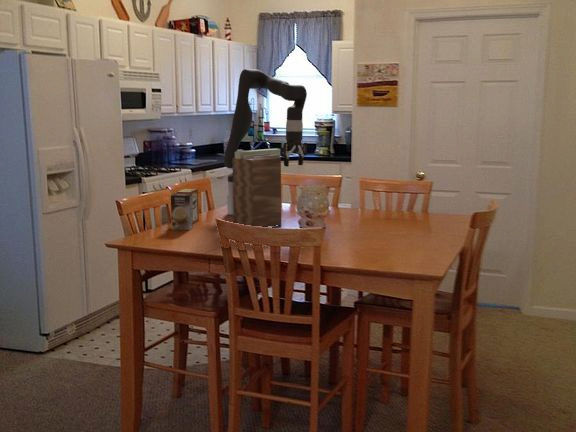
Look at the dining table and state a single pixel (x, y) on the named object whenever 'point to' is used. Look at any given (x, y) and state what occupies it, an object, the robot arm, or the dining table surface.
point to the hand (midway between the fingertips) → (293, 165)
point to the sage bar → (256, 152)
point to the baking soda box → (195, 201)
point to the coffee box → (181, 211)
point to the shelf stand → (257, 190)
